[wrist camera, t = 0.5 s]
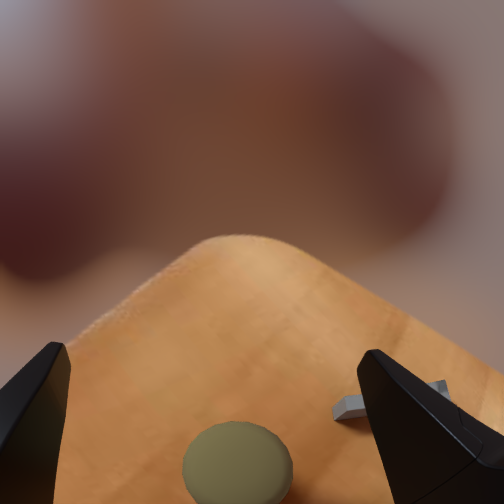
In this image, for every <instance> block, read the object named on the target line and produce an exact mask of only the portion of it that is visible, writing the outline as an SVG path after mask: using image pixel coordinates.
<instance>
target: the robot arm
mask: <svg viewBox="0 0 504 504" xmlns="http://www.w3.org/2000/svg"><path fill="white" fill-rule="evenodd" d="M70 372H71V363H70V360H69V357H68V354H67V350H66V347H65V345H64V344H63V343H58V342H50V343H48V344H47V345H46V346H45V347H44V348H43V349H42V350H41V351H40V352H39V353H38V354H36V356H34V357H33V358H32V359H31V360H30V361H29V362H28V363H27V364H26V365H25V366H24V367H23V368H22V369H21V370H20V371H19V372H18V373H17V374H16V375H15V376H14V377H13V378H12V379H11V380H9V381H8V382H7V383H6V384H5V385H4V386H3V387H2V388H1V389H0V504H53V500H54V489H55V480H56V472H57V465H58V458H59V451H60V445H61V439H62V434H63V428H64V423H65V417H66V408H67V398H68V389H69V380H70ZM357 376H358V380H359V384H360V388H361V393H362V397H363V402H364V406H365V410H366V414H367V417H368V420H369V423H370V426H371V429H372V432H373V435H374V438H375V441H376V444H377V447H378V450H379V454H380V457H381V460H382V463H383V466H384V470H385V473H386V476H387V479H388V483H389V486H390V489H391V493H392V496H393V500H394V503H395V504H504V436H503V435H501V434H500V433H498V432H496V431H495V430H493V429H491V428H490V427H488V426H486V425H485V424H483V423H481V422H480V421H478V420H477V419H475V418H474V417H472V416H471V415H469V414H468V413H466V412H465V411H464V410H462V409H461V408H459V407H457V405H455V404H454V403H452V402H451V401H450V400H448V399H447V398H446V397H444V396H443V395H441V394H440V393H439V392H437V391H436V390H435V389H433V388H432V387H430V386H429V385H428V384H426V383H425V382H424V381H422V380H421V379H419V378H418V377H417V376H415V375H414V374H413V373H411V372H410V371H408V370H407V369H406V368H404V367H403V366H401V365H400V364H399V363H397V362H396V361H395V360H393V359H392V358H391V357H389V356H388V355H386V354H385V353H384V352H382V351H381V350H379V349H373V350H368V351H366V353H365V354H364V356H363V358H362V360H361V362H360V363H359V365H358V367H357Z"/></svg>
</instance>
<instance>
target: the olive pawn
mask: <svg viewBox="0 0 504 504" xmlns="http://www.w3.org/2000/svg"><path fill="white" fill-rule="evenodd" d="M182 475H183V478H184V482H185V485H186V488H187V490H188V492H189V493H190V494H191V496H192V497H193V498H194V500H195V501H196V502H197V503H198V504H279V503H280V502H281V501H282V499H283V498H284V497H285V496H286V494H287V493H288V491H289V488H290V485H291V482H292V479H293V462H292V459H291V457H290V454H289V452H288V449H287V447H286V446H285V445H284V444H283V442H282V441H281V440H280V439H279V438H278V436H277V435H275V434H274V433H272V432H270V431H269V430H267V429H266V428H264V427H262V426H259V425H256V424H253V423H249V422H234V421H230V422H226V423H222V424H217V425H214V426H212V427H210V428H209V429H207V430H205V431H203V432H201V433H200V434H199V435H198V436H197V437H196V438H195V439H194V440H193V441H192V442H191V444H190V445H189V447H188V449H187V451H186V454H185V456H184V458H183V470H182Z"/></svg>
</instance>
